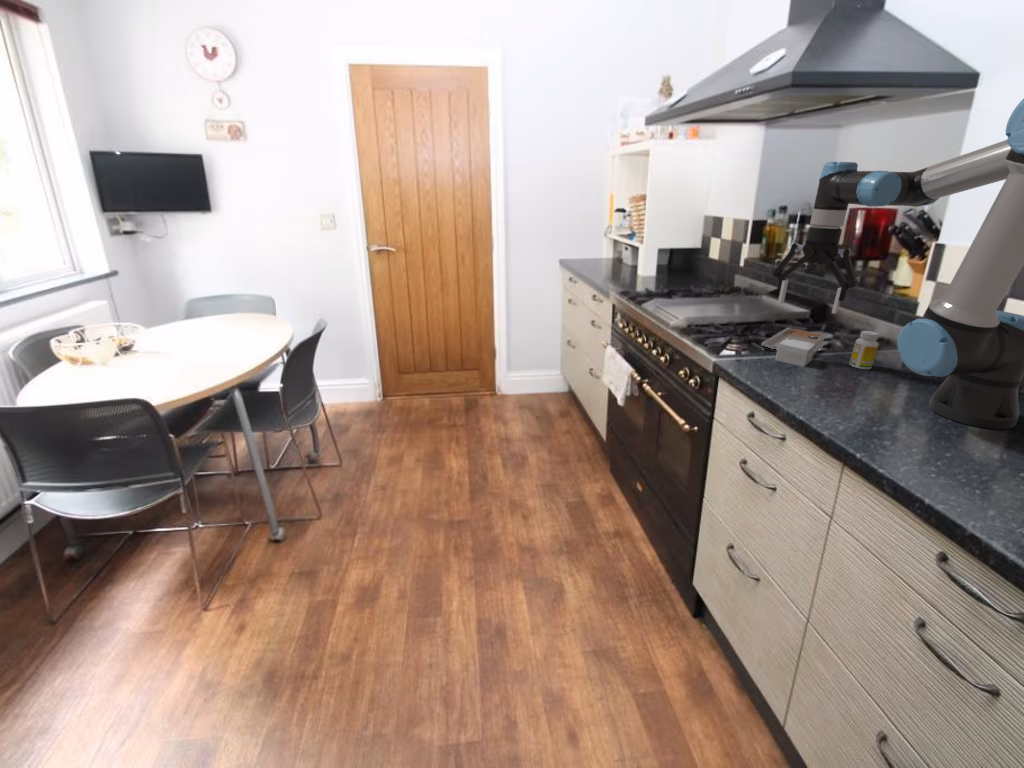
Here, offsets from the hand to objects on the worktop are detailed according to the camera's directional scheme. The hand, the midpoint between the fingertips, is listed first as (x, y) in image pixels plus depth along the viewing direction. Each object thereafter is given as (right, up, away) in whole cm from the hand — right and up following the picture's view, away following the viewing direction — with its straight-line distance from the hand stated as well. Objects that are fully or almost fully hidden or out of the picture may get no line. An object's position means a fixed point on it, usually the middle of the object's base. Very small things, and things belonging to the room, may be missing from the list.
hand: (806, 307), depth 146 cm
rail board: (+7, -9, +19) cm, 22 cm away
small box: (-1, -14, +5) cm, 15 cm away
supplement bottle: (+16, -16, +2) cm, 22 cm away
